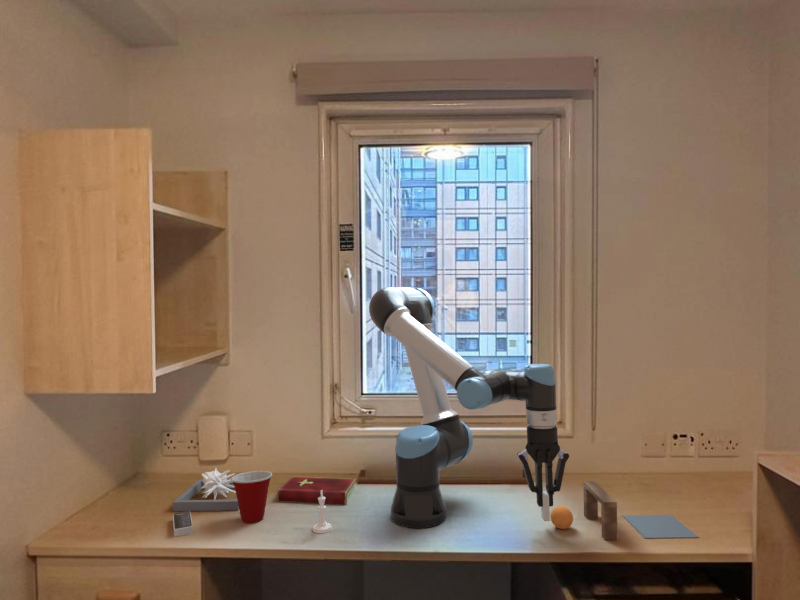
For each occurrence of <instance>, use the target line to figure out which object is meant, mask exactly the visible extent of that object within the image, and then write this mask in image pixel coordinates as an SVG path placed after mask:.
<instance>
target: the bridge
mask: <svg viewBox="0 0 800 600" xmlns="http://www.w3.org/2000/svg"><path fill="white" fill-rule="evenodd" d="M598 502H599V503H600V505H601V506H600V507H601V510H600V511H601V538H602V539H603V540H604V541H618V501H616V500H615V499H614V498H613V497H612V496H611V495H610V494H609V493H608V492H607V491H606V490H604V489H603V487H602V486H601V485H599V483H597V482H596V481H595V480H589V481H588V480H586V481H585V480H583V516H584V518H586V519H589V520H591V519H599V507H598V506H599V503H598Z"/></svg>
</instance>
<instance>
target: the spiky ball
mask: <svg viewBox="0 0 800 600" xmlns="http://www.w3.org/2000/svg"><path fill="white" fill-rule="evenodd" d="M230 471H231V470H230V469H227V470H225V471H223V472H219V470H218V469H217V467H215V468H214V470H213V471H205V472H203V473H201V476H202V480H203V483H204V486H203V487H202V488H201V490H203V491H202V492H201V494H202V495H203V496H202V497H201V499H203V498H204V499H206V498H208V496H209V495H210V494H212V493H213V500H217V497H218V496H217V495H218V493H219V494H220V495H222V496H223V497H225V498H227V497H228V496H227V494H230V492H232V493H234V494H236V490H234V489H229V488H227V487H230V488H231V487H232V488H235V487H234V486H233V485H230V484H229V483H232V482H233V481H232V480H231V478H232V477H233V476H235V475H236V473H230ZM228 473H230V474H228ZM230 477H231V478H230ZM227 479H230V480H227ZM225 486H226V487H225ZM203 488H205V489H203ZM226 493H227V494H226Z"/></svg>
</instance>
